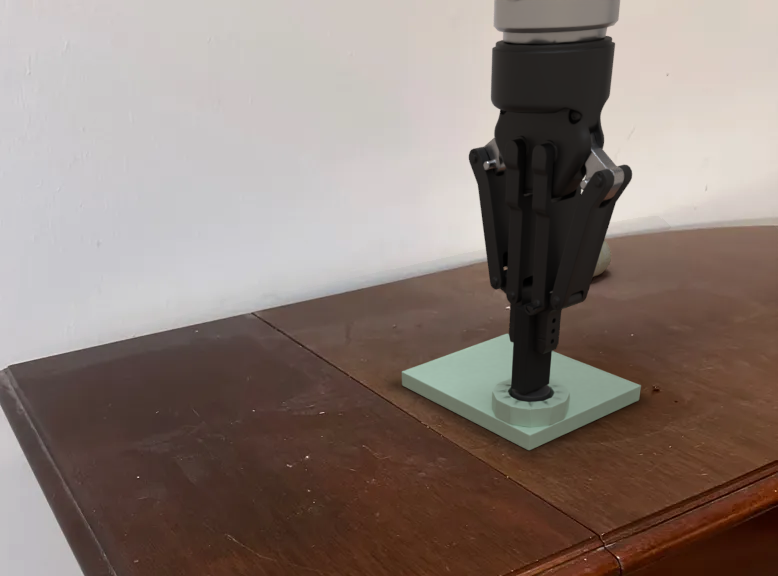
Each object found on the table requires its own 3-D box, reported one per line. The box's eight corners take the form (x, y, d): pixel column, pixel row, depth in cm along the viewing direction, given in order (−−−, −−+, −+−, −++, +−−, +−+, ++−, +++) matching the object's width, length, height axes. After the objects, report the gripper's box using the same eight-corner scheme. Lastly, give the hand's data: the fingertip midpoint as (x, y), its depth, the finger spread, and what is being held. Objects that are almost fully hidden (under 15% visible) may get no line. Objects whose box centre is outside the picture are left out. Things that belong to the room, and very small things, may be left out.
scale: (639, 400, 69) (644, 367, 67) (528, 451, 63) (531, 416, 61) (506, 346, 79) (508, 316, 78) (401, 385, 73) (400, 354, 72)
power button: (557, 406, 65) (558, 389, 64) (530, 418, 63) (531, 400, 62) (529, 394, 67) (531, 377, 66) (503, 405, 65) (504, 388, 64)
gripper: (439, 37, 53) (440, 374, 67) (593, 44, 44) (558, 430, 58) (522, 27, 56) (507, 349, 70) (681, 31, 48) (627, 398, 61)
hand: (530, 385), depth 64 cm, fingers closed
